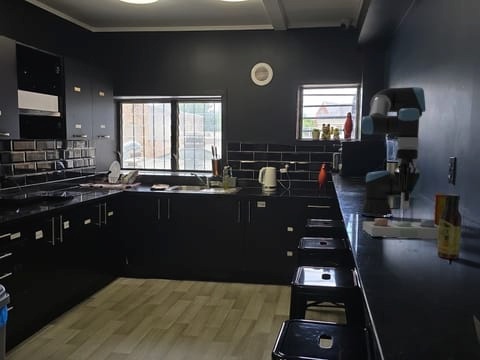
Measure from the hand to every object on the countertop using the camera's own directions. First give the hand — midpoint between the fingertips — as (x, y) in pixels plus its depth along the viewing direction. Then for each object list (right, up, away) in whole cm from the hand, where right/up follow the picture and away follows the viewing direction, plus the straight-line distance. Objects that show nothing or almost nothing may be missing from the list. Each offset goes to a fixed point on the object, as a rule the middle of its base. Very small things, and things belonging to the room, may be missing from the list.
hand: (404, 208), depth 172 cm
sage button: (0, -8, 0) cm, 8 cm away
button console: (0, -10, +2) cm, 11 cm away
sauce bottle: (0, -13, -35) cm, 37 cm away
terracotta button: (-9, -7, +1) cm, 12 cm away
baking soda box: (+20, -10, +12) cm, 26 cm away
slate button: (+9, -7, 0) cm, 11 cm away
